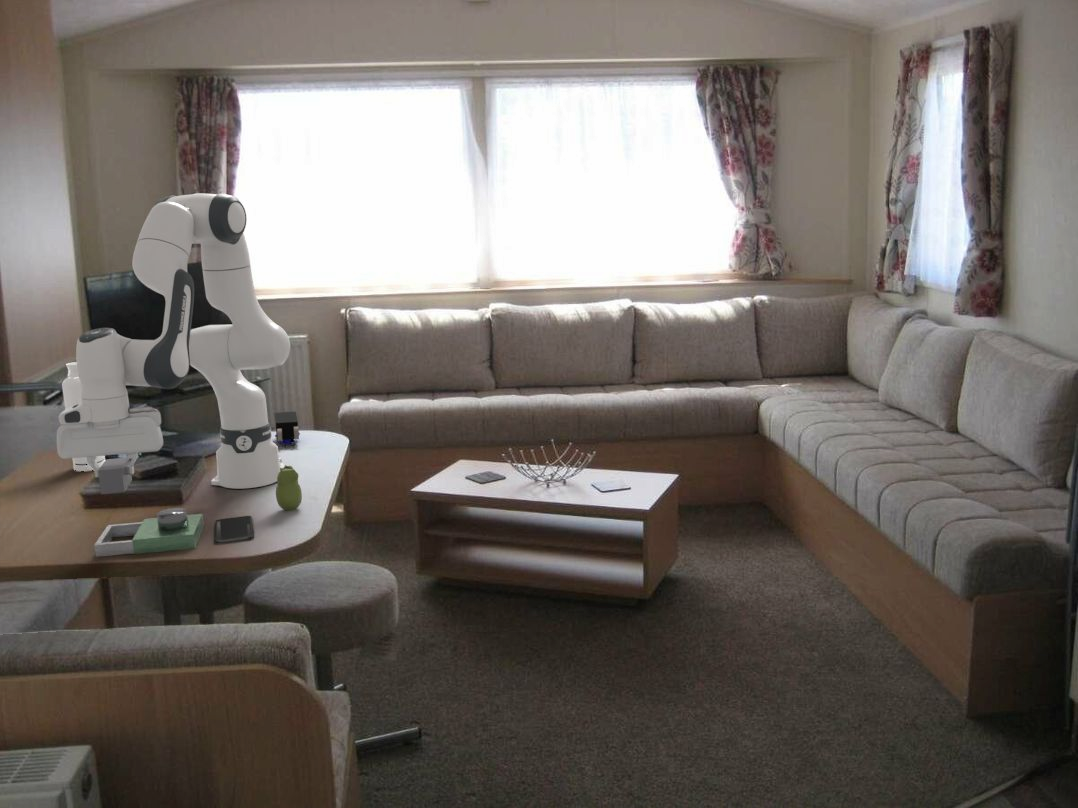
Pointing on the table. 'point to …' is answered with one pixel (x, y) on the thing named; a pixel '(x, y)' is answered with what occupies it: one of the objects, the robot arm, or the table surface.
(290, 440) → the figurine character
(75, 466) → the bottle
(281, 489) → the pear
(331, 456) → the table surface
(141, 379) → the robot arm
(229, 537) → the phone
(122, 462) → the grey rectangular cuboid
